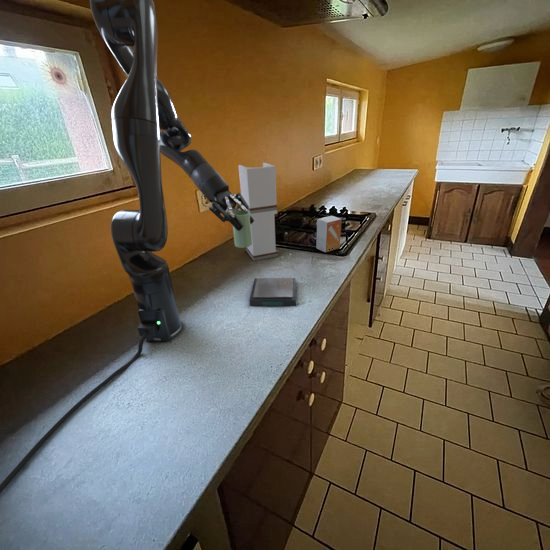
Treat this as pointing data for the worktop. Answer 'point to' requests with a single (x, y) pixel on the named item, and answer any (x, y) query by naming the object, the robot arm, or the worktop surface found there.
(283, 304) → the scale
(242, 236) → the cup
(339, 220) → the small box
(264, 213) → the tall white tower
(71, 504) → the worktop surface
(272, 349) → the worktop surface
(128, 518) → the worktop surface
